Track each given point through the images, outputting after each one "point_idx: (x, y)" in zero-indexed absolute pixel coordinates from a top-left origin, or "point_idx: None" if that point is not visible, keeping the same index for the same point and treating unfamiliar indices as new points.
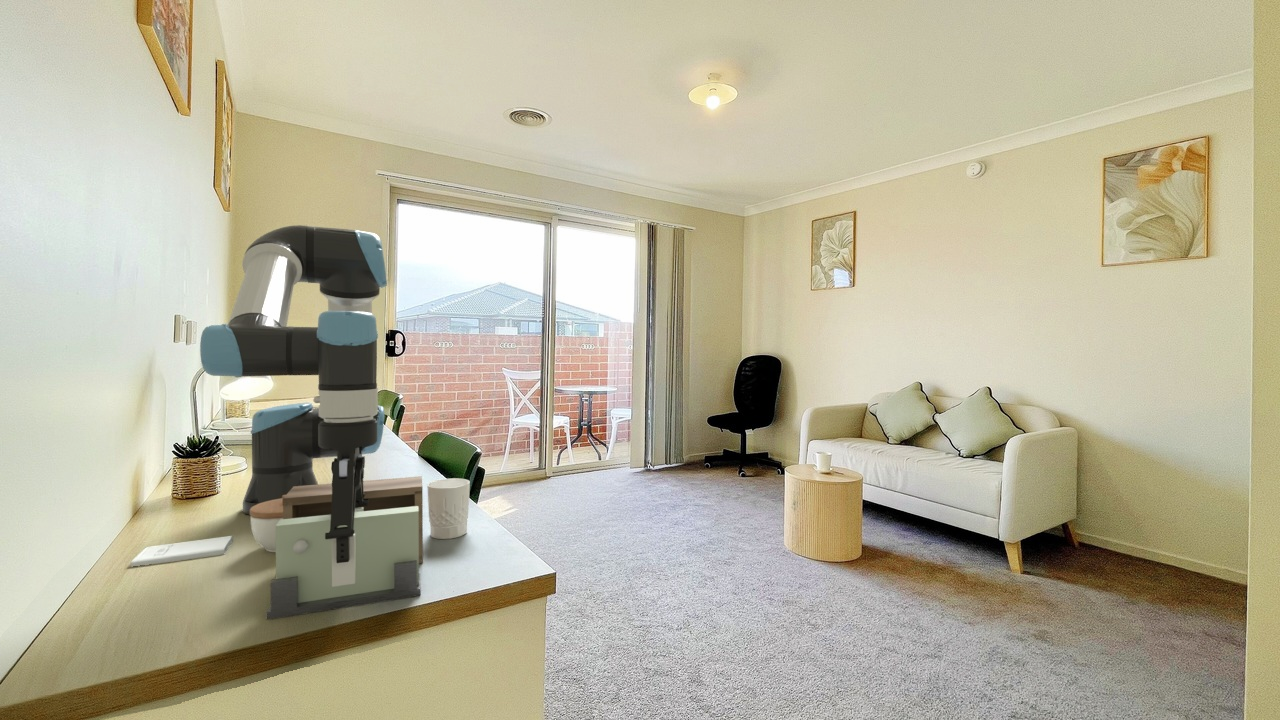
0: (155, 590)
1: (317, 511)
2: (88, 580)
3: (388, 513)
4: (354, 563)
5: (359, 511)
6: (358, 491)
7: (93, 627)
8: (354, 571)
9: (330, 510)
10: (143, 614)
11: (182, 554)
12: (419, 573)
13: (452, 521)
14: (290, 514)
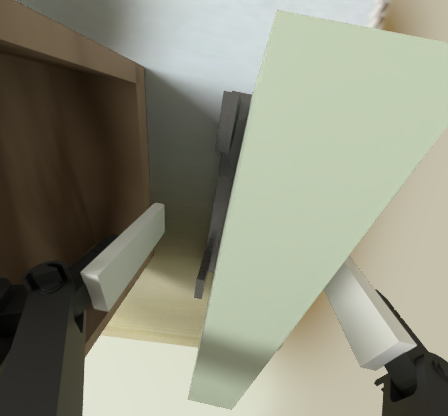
0: (136, 316)
1: (13, 284)
2: (103, 335)
3: (325, 263)
4: (358, 270)
5: (107, 275)
6: (62, 392)
7: (191, 335)
8: (349, 257)
9: (2, 267)
10: (182, 321)
11: None
12: (233, 92)
13: None
14: (86, 345)
